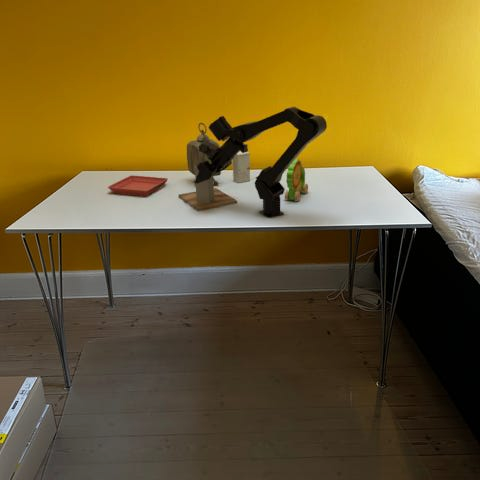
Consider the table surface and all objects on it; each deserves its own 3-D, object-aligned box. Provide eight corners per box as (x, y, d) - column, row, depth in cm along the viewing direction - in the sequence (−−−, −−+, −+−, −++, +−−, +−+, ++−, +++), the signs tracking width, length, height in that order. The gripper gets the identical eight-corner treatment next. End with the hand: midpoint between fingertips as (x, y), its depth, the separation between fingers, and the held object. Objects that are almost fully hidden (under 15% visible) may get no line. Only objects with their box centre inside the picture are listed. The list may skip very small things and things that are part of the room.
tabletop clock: (222, 185, 195) (219, 124, 185) (202, 189, 191) (198, 126, 181) (206, 177, 207) (203, 119, 197) (187, 180, 203) (183, 121, 193)
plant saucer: (131, 182, 204) (130, 174, 203) (169, 185, 199) (168, 177, 198) (107, 195, 189) (106, 187, 188) (147, 199, 183) (147, 190, 182)
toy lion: (295, 190, 188) (296, 152, 182) (308, 192, 186) (310, 153, 180) (281, 203, 175) (282, 162, 169) (295, 205, 173) (296, 164, 166)
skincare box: (238, 183, 198) (237, 154, 193) (232, 180, 202) (231, 152, 197) (250, 180, 201) (250, 152, 196) (244, 178, 205) (244, 150, 200)
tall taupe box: (209, 203, 173) (207, 168, 168) (196, 201, 175) (194, 167, 170) (214, 199, 177) (212, 165, 172) (202, 198, 179) (200, 164, 173)
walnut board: (237, 203, 176) (237, 200, 175) (197, 210, 169) (197, 208, 168) (215, 190, 190) (215, 187, 190) (178, 197, 183) (178, 194, 183)
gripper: (222, 128, 172) (197, 156, 181) (200, 139, 157) (173, 169, 165) (243, 151, 173) (217, 178, 181) (223, 164, 157) (195, 193, 165)
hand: (200, 179), depth 173 cm, fingers open, 9 cm apart
